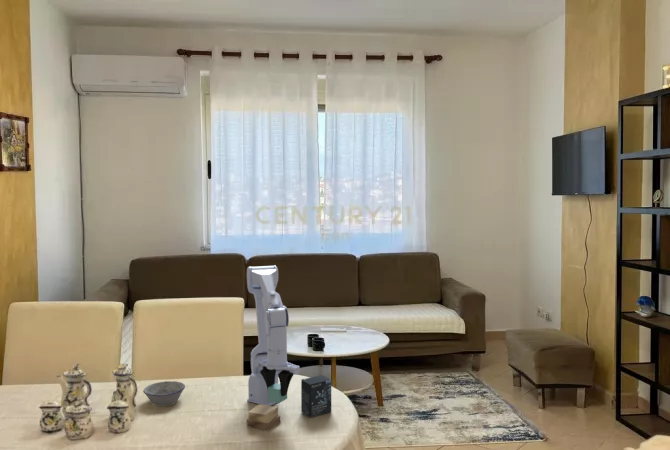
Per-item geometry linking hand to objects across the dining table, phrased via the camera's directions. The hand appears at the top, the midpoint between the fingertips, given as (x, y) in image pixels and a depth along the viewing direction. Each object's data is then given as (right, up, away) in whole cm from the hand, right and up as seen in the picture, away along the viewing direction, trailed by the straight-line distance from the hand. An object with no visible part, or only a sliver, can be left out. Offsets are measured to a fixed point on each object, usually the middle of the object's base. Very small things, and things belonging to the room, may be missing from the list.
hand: (277, 393), depth 170 cm
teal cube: (0, -2, 0) cm, 2 cm away
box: (+11, -8, +8) cm, 16 cm away
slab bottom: (-4, -10, 0) cm, 10 cm away
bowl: (-39, -8, +18) cm, 44 cm away
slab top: (-4, -7, 0) cm, 8 cm away
